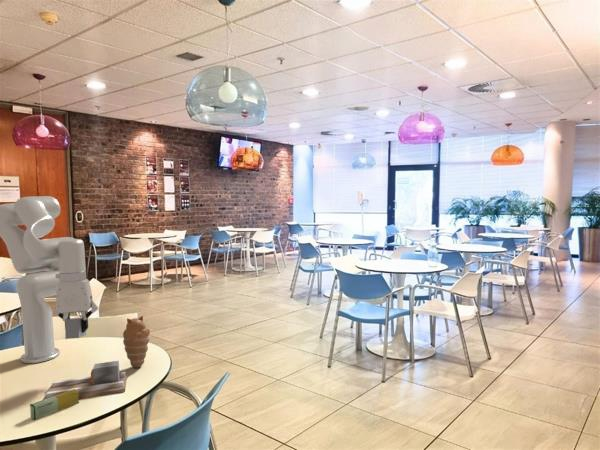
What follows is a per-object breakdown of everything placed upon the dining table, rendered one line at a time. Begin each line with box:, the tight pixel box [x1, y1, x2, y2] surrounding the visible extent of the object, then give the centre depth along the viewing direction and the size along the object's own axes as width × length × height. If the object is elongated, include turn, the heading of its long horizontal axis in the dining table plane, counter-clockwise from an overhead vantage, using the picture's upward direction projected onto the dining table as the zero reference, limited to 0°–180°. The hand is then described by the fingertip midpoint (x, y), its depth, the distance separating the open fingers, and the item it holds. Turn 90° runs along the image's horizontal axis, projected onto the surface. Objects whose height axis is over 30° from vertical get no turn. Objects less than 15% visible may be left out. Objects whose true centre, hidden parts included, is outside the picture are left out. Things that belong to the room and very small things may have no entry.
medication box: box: [29, 389, 80, 421], centre depth 121 cm, size 12×3×4 cm, turn 141°
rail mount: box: [43, 360, 128, 400], centre depth 133 cm, size 22×12×7 cm, turn 108°
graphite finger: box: [64, 316, 87, 340], centre depth 141 cm, size 4×8×6 cm, turn 9°
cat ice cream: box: [122, 315, 151, 369], centre depth 148 cm, size 9×8×18 cm
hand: (77, 330), depth 142 cm, fingers closed on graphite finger, 3 cm apart
